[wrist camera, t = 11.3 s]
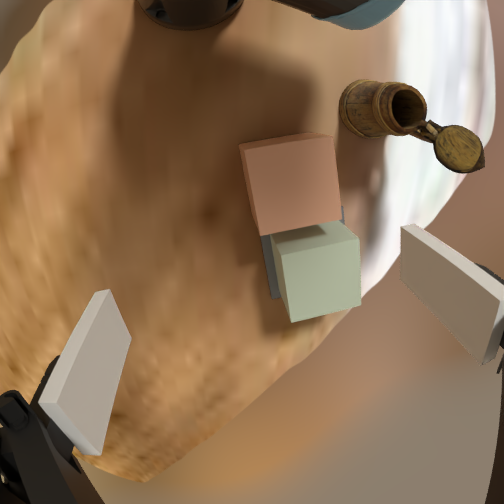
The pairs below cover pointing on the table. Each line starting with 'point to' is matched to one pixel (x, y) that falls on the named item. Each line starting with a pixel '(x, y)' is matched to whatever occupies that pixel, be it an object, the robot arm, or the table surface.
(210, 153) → the table surface
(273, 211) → the terracotta cover
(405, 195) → the table surface
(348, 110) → the wooden mug
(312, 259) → the sage cover
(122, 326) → the robot arm
